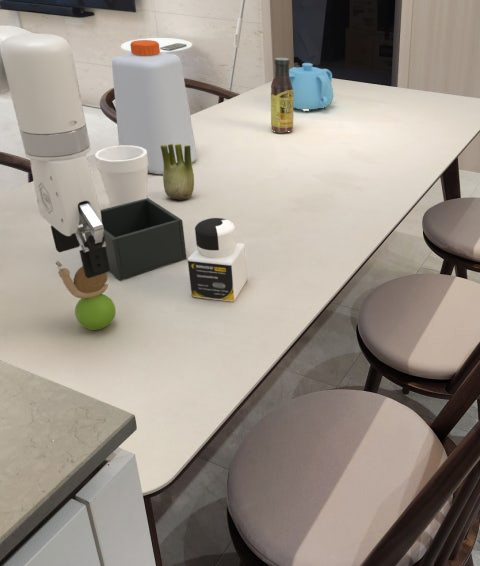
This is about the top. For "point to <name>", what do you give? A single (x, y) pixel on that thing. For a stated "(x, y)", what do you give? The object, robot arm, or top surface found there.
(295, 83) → the decorative pot
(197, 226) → the medicine bottle
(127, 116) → the plastic bottle
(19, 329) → the top surface
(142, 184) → the foam cup
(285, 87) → the sauce bottle
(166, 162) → the fennel bulb
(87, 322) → the snail figurine
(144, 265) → the bin
